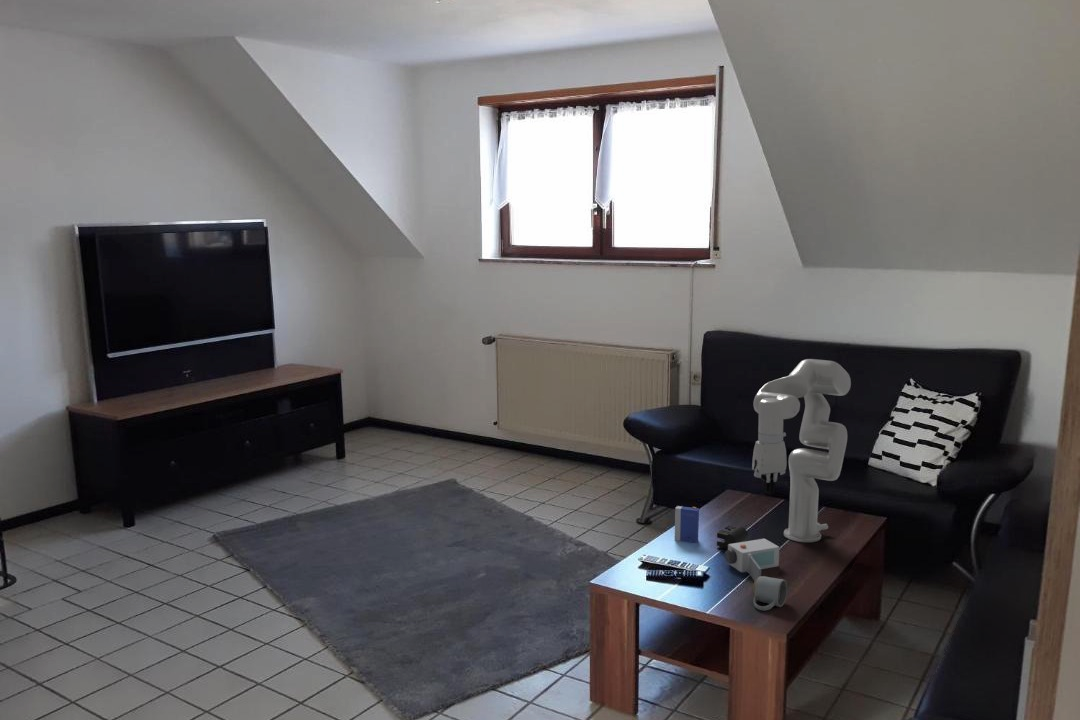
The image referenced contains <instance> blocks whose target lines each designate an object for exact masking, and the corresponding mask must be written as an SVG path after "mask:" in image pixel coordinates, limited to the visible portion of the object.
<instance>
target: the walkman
mask: <svg viewBox="0 0 1080 720" xmlns="http://www.w3.org/2000/svg"><path fill="white" fill-rule="evenodd" d="M699 518H700V508H699V507H698V508H697V507H696V506H692V507H689V506H683V505H681V506H680V505H676V507H675V509H674V541H678V542H684V543H685V542H686V543H694V544H697V543H698V542H699V530H700V529H699V525H700V524H699V521H700V519H699Z"/></svg>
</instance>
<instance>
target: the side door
mask: <svg viewBox="0 0 1080 720" xmlns="http://www.w3.org/2000/svg"><path fill="white" fill-rule="evenodd" d="M746 573H747V574H748V575H750V577H751V578H752V580H753V581H754V582H755V580H756V578H758V577H760V576H762V569H761V568H760V567H759V565H758V564H757V563H756V561H755V560H754V559H753V557H752V554H748V567H747V572H746Z"/></svg>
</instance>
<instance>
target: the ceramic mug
mask: <svg viewBox="0 0 1080 720" xmlns="http://www.w3.org/2000/svg"><path fill="white" fill-rule="evenodd" d="M787 594H788V583H787V580H785V579H783V578H776V577H769V576H765V575H763V576H762V575H761V576H760V577H758V578H756V580H755V581H754V583H753V586H752V595H753V606H754V607H755V608H756V609H757V610H758V611H761V612H764V611H769V610H771V609H773V608H774V606H776V607H778V608H781V607H783V606H784V604H785V602H786V599H787ZM757 601H758V602H761V603H765V604H767V605H763V606H762V605H759V604H758V603H757Z"/></svg>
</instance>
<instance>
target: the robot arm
mask: <svg viewBox="0 0 1080 720" xmlns="http://www.w3.org/2000/svg"><path fill="white" fill-rule="evenodd" d="M851 381H852V380H851V377H850V374H849V372H847V370H846V369H844V368H843V367H842V365H841V364H839V363H838V362H836V361H833V360H825V359H815V358H806V359H803V360H801V361H800V362H799V363H798V364H797V365H796V366H795V367H794V369H793V370H792V371H791V372H790V373H789V375H787V376H783V377H781V378H777V379H774V380H772V381H768V382H767V383H765V384H764V385H763V386H762V387H761V388H760V389H759V390H758V391H757V393H756V394H755V396H754V399H753V401H752V402H753V405H752V406H753V409H754V411H755V412H756V413H757V414H758V428H757V429H758V430H757V431H758V434H757V435H758V436H757V437H758V438H757V439H758V440H756V441H755V444H754V447H753V452H752V454H753V455H752V463H751V465H752V466H751V469H752V470H753V471H754V473H753V476H754V478H758V479H761V480H763V491H764V493H765V494H768V495H769V496H771V495H774V494H775V490H776V482H777V481H778V479H779V477H780V476H783V475H784V474H786V470H787V463H788V469H789V477H790V479H789V480H790V481H789V483H790V487H789V489H790V490H789V509H788V510H789V511H788V528H785V529H784V531H783V536H784V537H785V538H787V539H789V540H791V541H794V542H799V543H816V542H819V541H820V540H821V539H822V534H821V530H822V531H823V530H827V529H829V525H828V524H827V523H822V524H821V523H820V522H818V513H819V512H818V511H819V493H820V492H819V490H820V489H819V487H818V483H817V482H816V480H815V479H817V480H823V481H830V482H832V481H836V480H838V478H839V477H840V475H841V471H842V468H843V462H844V457H845V453H846V448H847V443H848V430H847V428H846V426H845V425H843V423H839V422H835V421H834V422H833V421H829V418H830V414H831V407H830V404H829V402H828V401H827V399H826V397H824V395H830V396H831V395H832V396H839V397H840V396H845V395H847V394H848V393H849V391H850V390H851V385H852V382H851ZM799 398H804V405H805V406H804V412H803V416H802V420H801V423H800V425H801V426H800V430H799V437H798V439H799V441H800V443H801V444H803V445H804V446H807V447H812V448H818V449H824V450H828V452H827V451H824V450H823V451H822V450H815V449H809V448H803V447H802V448H795V449H793V450H792V451H791V452H790V454H789V455H788V458H787V448H786V443H785V441H784V437H786V436H787V433H786V432H785V431H784V420H789V419H792V418H794V417H795V416H797V414H798V413H799V412H800V409H801V402H800V400H799ZM787 459H788V462H787Z"/></svg>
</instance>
